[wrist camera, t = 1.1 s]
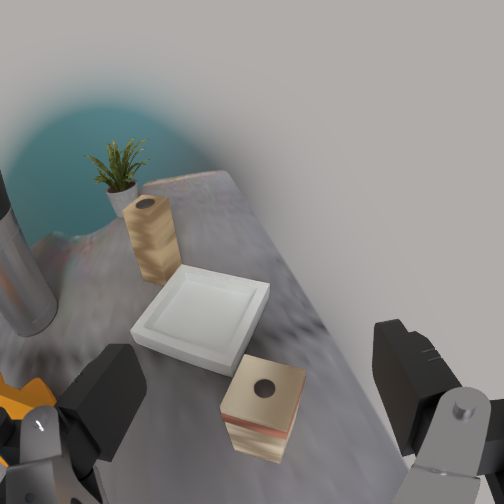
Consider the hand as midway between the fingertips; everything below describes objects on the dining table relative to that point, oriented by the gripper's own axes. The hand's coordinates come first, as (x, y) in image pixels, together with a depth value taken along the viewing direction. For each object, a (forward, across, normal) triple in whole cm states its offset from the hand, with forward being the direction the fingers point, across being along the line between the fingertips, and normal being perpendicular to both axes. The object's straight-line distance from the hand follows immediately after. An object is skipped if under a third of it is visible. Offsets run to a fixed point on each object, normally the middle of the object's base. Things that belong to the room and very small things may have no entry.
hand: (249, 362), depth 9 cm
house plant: (+52, +29, -1) cm, 59 cm away
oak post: (+33, +17, +7) cm, 38 cm away
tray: (+25, +10, +12) cm, 29 cm away
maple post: (+12, +2, +18) cm, 21 cm away
